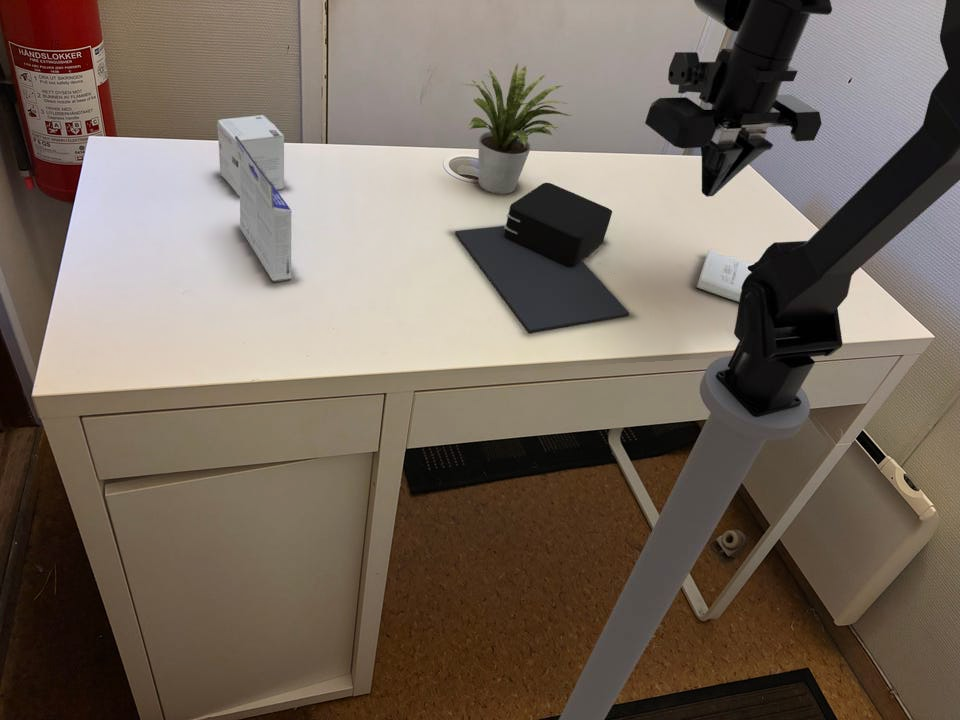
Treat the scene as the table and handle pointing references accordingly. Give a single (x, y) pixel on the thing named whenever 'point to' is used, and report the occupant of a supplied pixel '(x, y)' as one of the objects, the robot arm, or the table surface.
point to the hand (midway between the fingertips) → (707, 194)
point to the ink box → (264, 217)
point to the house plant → (508, 131)
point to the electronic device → (557, 223)
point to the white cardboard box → (251, 148)
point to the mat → (540, 283)
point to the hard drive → (723, 275)
